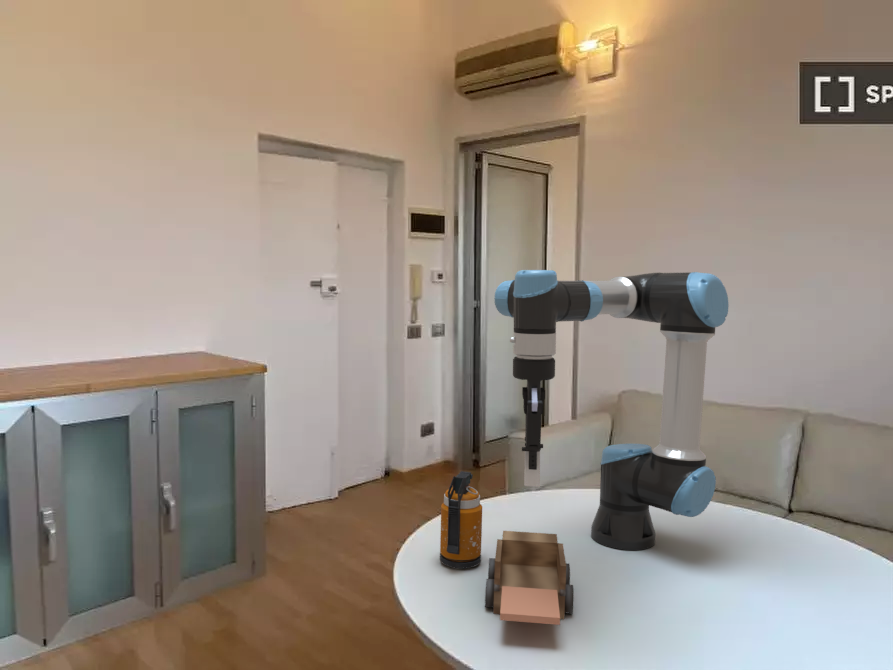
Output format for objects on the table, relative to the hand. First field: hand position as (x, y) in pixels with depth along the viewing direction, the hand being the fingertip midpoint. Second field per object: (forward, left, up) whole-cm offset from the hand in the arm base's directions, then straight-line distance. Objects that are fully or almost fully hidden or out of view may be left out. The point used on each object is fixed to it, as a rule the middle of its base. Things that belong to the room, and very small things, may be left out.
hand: (531, 484), depth 123 cm
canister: (+15, -21, -25) cm, 36 cm away
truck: (0, -8, -25) cm, 26 cm away
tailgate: (0, 0, -20) cm, 20 cm away
